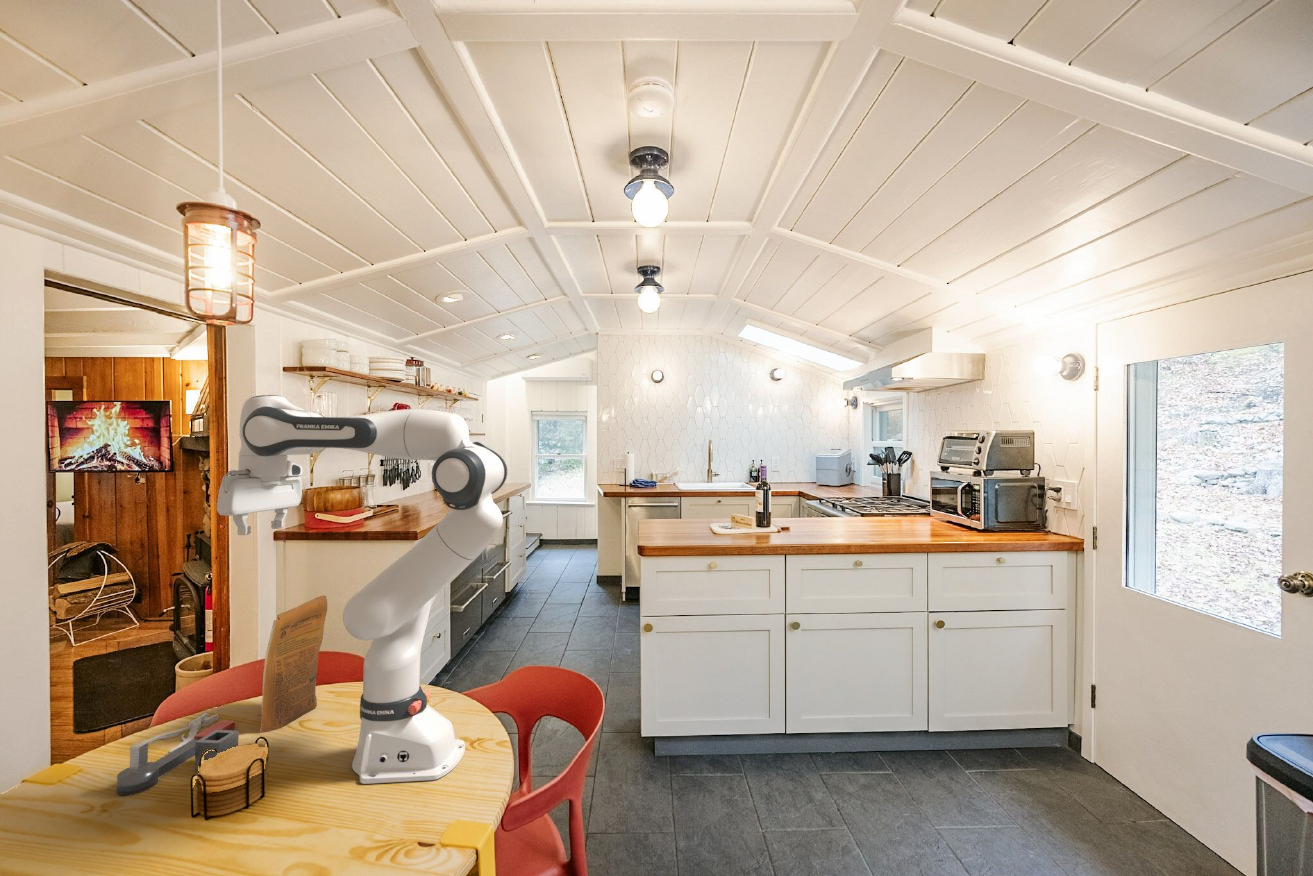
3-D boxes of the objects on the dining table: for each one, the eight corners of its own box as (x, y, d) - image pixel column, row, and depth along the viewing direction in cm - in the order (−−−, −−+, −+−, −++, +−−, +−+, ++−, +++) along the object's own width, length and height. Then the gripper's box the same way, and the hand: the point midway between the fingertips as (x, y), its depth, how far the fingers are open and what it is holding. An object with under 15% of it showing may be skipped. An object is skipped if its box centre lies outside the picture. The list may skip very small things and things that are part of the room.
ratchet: (239, 732, 129) (241, 697, 129) (136, 796, 105) (138, 753, 105) (215, 730, 129) (216, 696, 130) (107, 794, 106) (108, 752, 106)
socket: (237, 759, 118) (238, 730, 118) (217, 773, 113) (218, 743, 113) (215, 758, 118) (216, 729, 118) (194, 771, 113) (195, 742, 114)
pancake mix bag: (334, 701, 145) (337, 594, 146) (271, 738, 127) (275, 615, 127) (312, 698, 147) (315, 592, 147) (246, 735, 128) (250, 613, 128)
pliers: (130, 744, 121) (194, 711, 136) (130, 751, 121) (193, 718, 136) (171, 747, 120) (231, 714, 135) (171, 754, 120) (231, 721, 135)
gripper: (238, 470, 112) (236, 539, 112) (308, 467, 132) (306, 525, 132) (208, 470, 112) (206, 538, 112) (282, 467, 133) (280, 524, 133)
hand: (261, 531), depth 122 cm, fingers open, 8 cm apart
